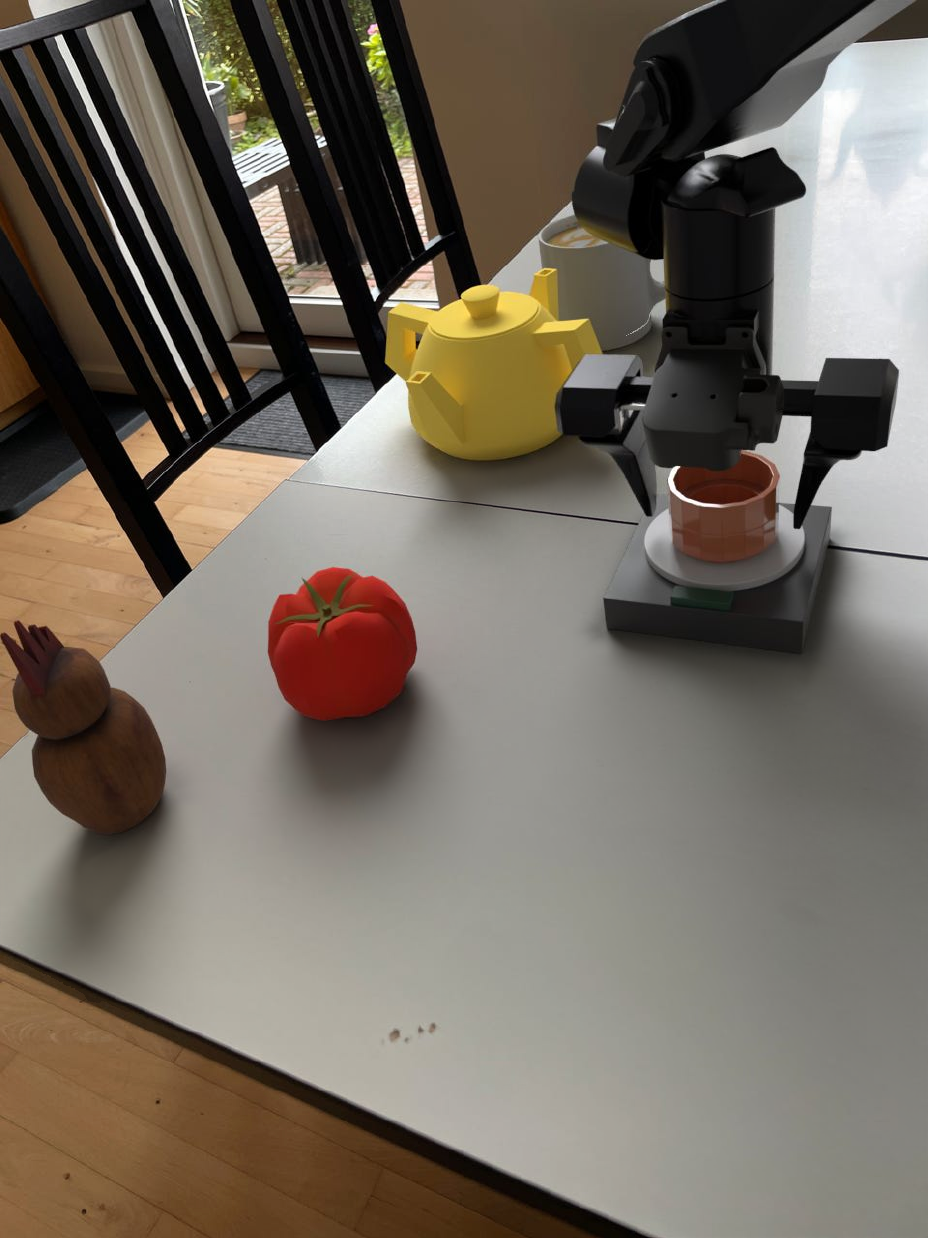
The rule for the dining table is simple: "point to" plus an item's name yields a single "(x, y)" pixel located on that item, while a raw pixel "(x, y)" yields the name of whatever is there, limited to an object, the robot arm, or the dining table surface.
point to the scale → (721, 585)
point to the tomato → (341, 645)
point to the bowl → (724, 509)
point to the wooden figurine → (85, 734)
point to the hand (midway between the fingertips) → (722, 519)
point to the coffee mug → (600, 283)
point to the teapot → (487, 368)
